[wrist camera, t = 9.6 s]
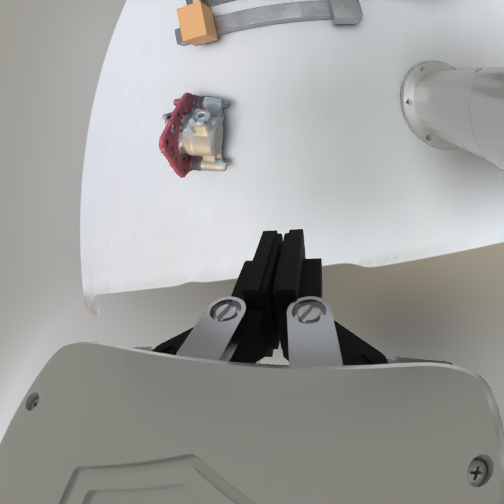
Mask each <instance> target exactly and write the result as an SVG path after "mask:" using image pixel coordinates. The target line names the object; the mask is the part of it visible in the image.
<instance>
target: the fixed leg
mask: <svg viewBox="0 0 504 504" xmlns="http://www.w3.org/2000/svg"><path fill="white" fill-rule="evenodd" d="M327 2H328V6H329V10H330V14H331V18H332V22H333V24H357V23H358V21H359V20H360V18H361V17H360V13H359V9H358V5H357V2H356V0H327Z"/></svg>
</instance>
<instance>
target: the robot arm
mask: <svg viewBox="0 0 504 504" xmlns="http://www.w3.org/2000/svg"><path fill="white" fill-rule="evenodd" d="M420 68H421V69H422V71H421V70H420ZM406 100H407V101H408V103H406ZM401 105H402V109H403V113H404V116H405V118H406V121H407V122H408V124H409V126H410V128H411V129H412V130H413V131H414V133H415V134H416V135H417V136H418V137H419V138H420V139H421V140H423V141H424V142H426V143H427V144H429V145H431V146H433V147H436V148H439V149H445V150H450V149H456V148H458V147H461V148H463V149H465V150H467V151H469V152H471V153H473V154H475V155H477V156H479V157H481V158H482V159H484V160H486V161H488V162H490V163H491V164H493V165H495V166H497V167H499V168H500V169H502V170H504V68H472V69H455V68H454V67H452V66H450V65H448V64H446V63H443V62H439V61H427V62H423V63H420V64H418V65H416V66H415V67H413V68H412V69H411V70H410V71H409V72H408V73H407V75H406V77H405V79H404V81H403V84H402V89H401ZM426 136H428V137H427V138H426ZM279 342H281V348H282V350H283V356H284V357H285V358H286V359H287V360H288V361H289V365H270V364H260V359H262V358H264V357H265V356H266V357H272V355H273V350H274V349H278V347H279ZM0 504H504V430H503V425H502V420H501V416H500V413H499V409H498V406H497V403H496V400H495V398H494V395H493V393H492V391H491V389H490V387H489V385H488V384H487V382H486V381H485V380H484V379H483V378H482V376H480V375H479V374H477V373H476V372H474V371H472V370H469V369H466V368H464V367H459V366H455V365H453V364H452V363H449V362H445V361H434V360H422V359H412V358H402V357H395V360H392V359H386V357H385V356H384V355H383V354H382V353H381V352H379V351H378V350H376V349H375V348H373V347H372V346H371V345H369V344H367V343H366V342H365V341H363V340H362V339H360V338H359V337H357V336H356V335H355V334H353V333H352V332H350V331H349V330H347V329H346V328H344V327H343V326H341V325H340V324H338V323H337V322H336V321H334V320H333V315H332V311H331V307H330V305H329V303H327V302H326V301H325V300H323V299H322V262H321V259H306V258H305V246H304V235H303V229H297V230H290V231H289V233H285V235H284V240H283V238H282V234H277V231H263V234H262V236H261V239H260V242H259V245H258V248H257V250H256V253H255V256H254V259H253V261H245V263H244V265H243V268H242V270H241V273H240V275H239V278H238V280H237V283H236V285H235V288H234V290H233V293H232V295H231V297H224V298H220V299H218V300H216V301H214V302H212V303H211V304H210V305H209V306H208V308H207V309H206V310H205V312H204V313H203V315H202V317H201V318H200V319H199V321H198V322H197V324H196V325H195V327H193V328H191V329H189V330H187V331H185V332H183V333H181V334H179V335H177V336H176V337H174V338H172V339H170V340H168V341H166V342H164V343H162V344H160V345H158V346H157V347H156V348H155V349H153V348H152V347H136V348H129V347H123V346H119V345H112V344H106V343H97V342H80V343H74V344H70V345H67V346H64V347H62V348H60V349H59V350H58V351H57V352H56V353H55V354H54V355H53V356H52V357H51V359H50V360H49V361H48V362H47V364H46V365H45V366H44V368H43V369H42V370H41V372H40V374H39V375H38V376H37V378H36V379H35V381H34V382H33V384H32V385H31V387H30V389H29V390H28V392H27V394H26V395H25V397H24V399H23V401H22V402H21V404H20V406H19V407H18V409H17V411H16V413H15V415H14V417H13V419H12V420H11V422H10V425H9V426H8V429H7V430H6V433H5V435H4V437H3V439H2V441H1V444H0Z"/></svg>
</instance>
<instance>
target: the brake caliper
mask: <svg viewBox="0 0 504 504" xmlns="http://www.w3.org/2000/svg"><path fill="white" fill-rule="evenodd" d="M174 105H176V108H175V110H174V112H172V113H168V114H165V115H163V116H162V118H163V119H165V123H166V127H165V129H164V131H163V133H162V135H161V137H160V140H159V148H160V150H161V153H163V155H164V156H165V157H166V159H167V160H168V162H169V163H170V166H171V167H172V168H173V169H174V171H175V172H176V174H177V175H179V176H180V177H181V178H183V177H185V176H186V175H187V173H188V172H189V171H192V170H209V171H226V169H227V165H230V164H231V160H230V159H223V158H222V149H221V147H222V142H223V124H222V122H223V120H224V115H223V112H222V110H223V109H225V108H228V107H229V103H228V102H227V101H224V100H223V99H220V98H213V97H208V96H196V95H192V94H190V93H185V94H184V95H183V96H182V98H181V99H175V100H174ZM171 152H172V154H171Z"/></svg>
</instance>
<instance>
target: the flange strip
mask: <svg viewBox="0 0 504 504" xmlns="http://www.w3.org/2000/svg"><path fill="white" fill-rule="evenodd" d="M230 1H234V0H201V2H202V3H204V4H205V5H207V6H208V7H211V6H215V5H218V4H222V3H226V2H230ZM186 3H187V5H190V4H193V0H186Z"/></svg>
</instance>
